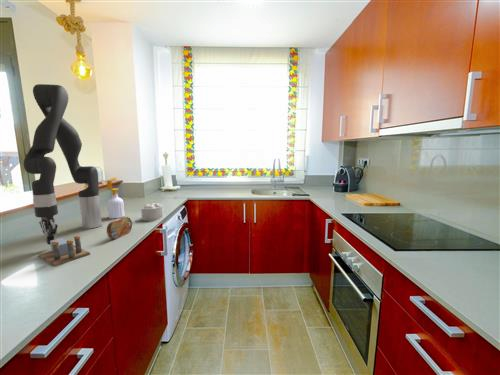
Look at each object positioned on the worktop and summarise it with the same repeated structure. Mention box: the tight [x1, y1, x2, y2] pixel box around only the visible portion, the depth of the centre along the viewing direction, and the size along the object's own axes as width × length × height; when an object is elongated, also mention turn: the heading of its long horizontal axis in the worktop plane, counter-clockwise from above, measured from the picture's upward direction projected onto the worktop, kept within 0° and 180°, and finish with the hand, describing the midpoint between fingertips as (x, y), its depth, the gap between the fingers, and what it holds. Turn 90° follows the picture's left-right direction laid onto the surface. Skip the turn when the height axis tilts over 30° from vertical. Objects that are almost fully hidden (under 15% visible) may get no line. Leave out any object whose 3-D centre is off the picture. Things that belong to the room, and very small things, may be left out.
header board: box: [38, 235, 91, 267], centre depth 101 cm, size 16×12×8 cm
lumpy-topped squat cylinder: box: [141, 202, 164, 222], centre depth 155 cm, size 10×13×9 cm
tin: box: [106, 216, 133, 240], centre depth 123 cm, size 15×3×8 cm, turn 168°
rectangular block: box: [50, 237, 68, 256], centre depth 102 cm, size 4×9×4 cm, turn 56°
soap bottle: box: [106, 177, 126, 219], centre depth 157 cm, size 9×9×25 cm
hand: (51, 243), depth 108 cm, fingers closed
